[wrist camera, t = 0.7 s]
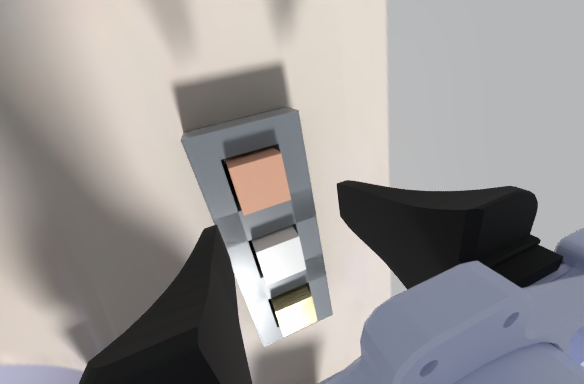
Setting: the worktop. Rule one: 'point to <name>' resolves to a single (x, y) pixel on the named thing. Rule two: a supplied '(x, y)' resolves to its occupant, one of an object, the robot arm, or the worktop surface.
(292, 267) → the grey key
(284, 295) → the brass key
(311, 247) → the keypad
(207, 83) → the worktop surface
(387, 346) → the robot arm
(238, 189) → the terracotta key
